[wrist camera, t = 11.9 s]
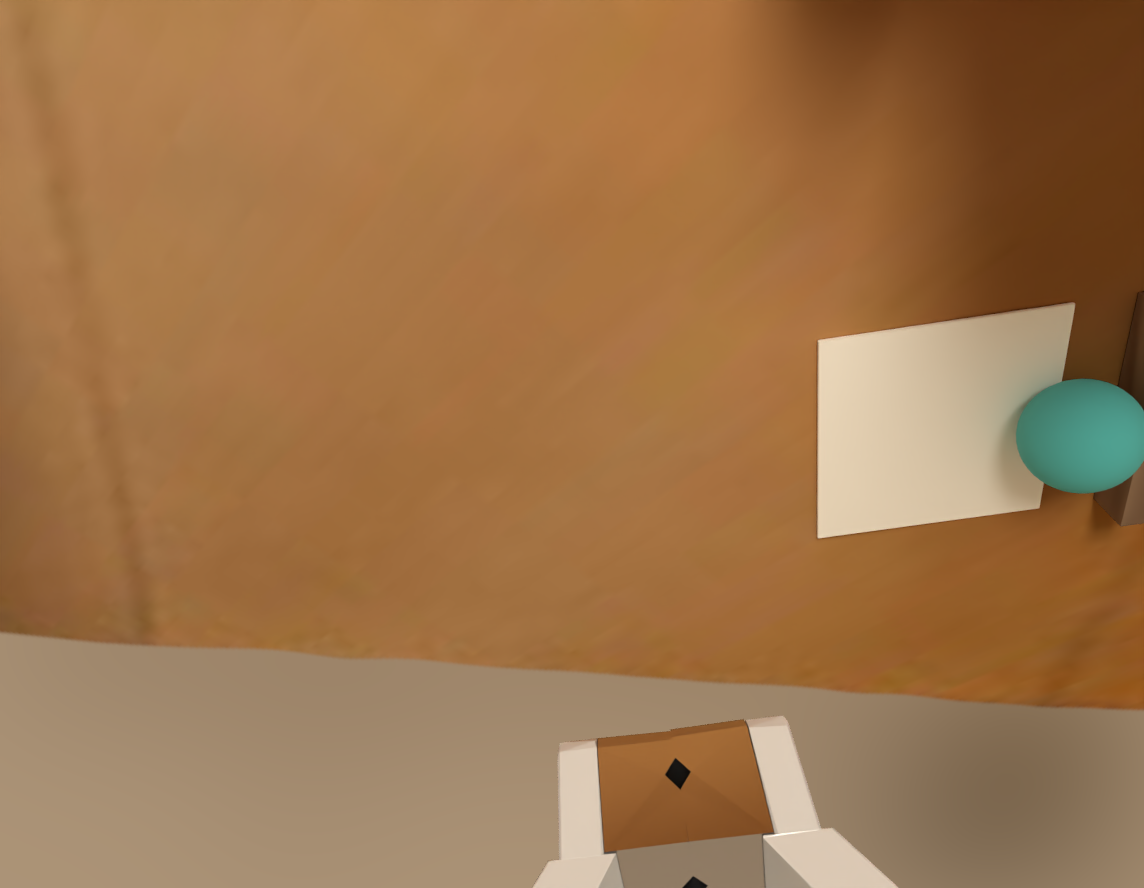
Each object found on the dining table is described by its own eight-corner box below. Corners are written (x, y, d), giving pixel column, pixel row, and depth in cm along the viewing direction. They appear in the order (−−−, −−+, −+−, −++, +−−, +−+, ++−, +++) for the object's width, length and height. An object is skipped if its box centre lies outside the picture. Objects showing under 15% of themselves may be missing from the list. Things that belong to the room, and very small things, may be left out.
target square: (816, 536, 46) (817, 538, 46) (817, 340, 40) (818, 342, 40) (1037, 506, 46) (1039, 508, 45) (1073, 302, 39) (1075, 303, 39)
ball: (1140, 463, 42) (1018, 446, 45) (1163, 365, 39) (1031, 353, 42) (1135, 526, 38) (1002, 503, 41) (1160, 423, 35) (1014, 406, 38)
